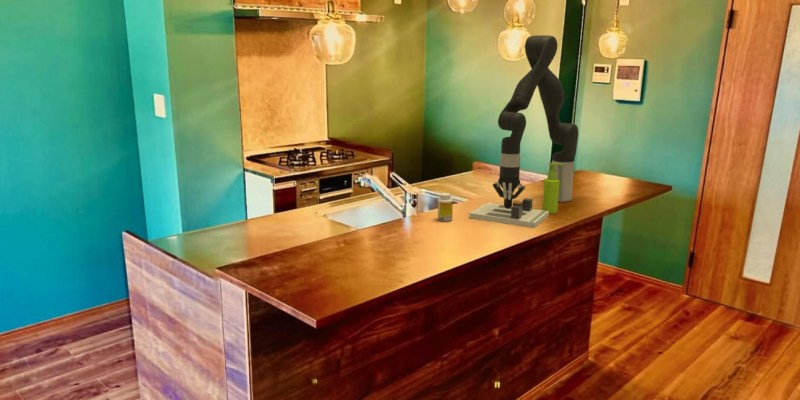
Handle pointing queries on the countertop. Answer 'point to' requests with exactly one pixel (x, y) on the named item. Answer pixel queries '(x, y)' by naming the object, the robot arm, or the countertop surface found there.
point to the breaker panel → (508, 215)
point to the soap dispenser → (551, 190)
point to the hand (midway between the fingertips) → (507, 208)
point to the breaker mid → (518, 203)
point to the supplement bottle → (445, 207)
